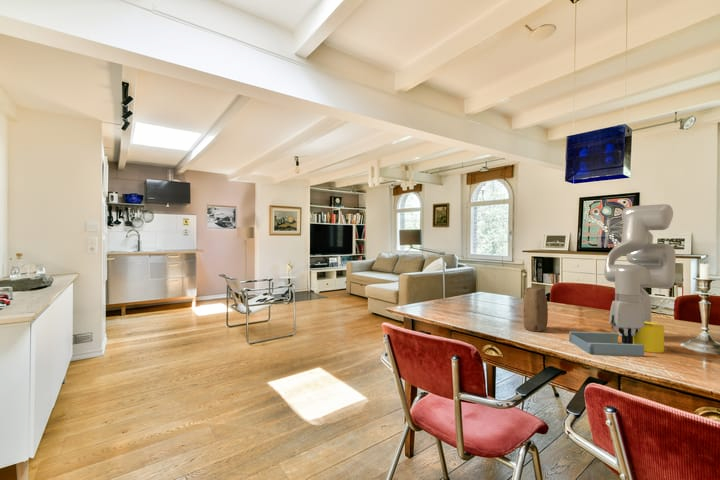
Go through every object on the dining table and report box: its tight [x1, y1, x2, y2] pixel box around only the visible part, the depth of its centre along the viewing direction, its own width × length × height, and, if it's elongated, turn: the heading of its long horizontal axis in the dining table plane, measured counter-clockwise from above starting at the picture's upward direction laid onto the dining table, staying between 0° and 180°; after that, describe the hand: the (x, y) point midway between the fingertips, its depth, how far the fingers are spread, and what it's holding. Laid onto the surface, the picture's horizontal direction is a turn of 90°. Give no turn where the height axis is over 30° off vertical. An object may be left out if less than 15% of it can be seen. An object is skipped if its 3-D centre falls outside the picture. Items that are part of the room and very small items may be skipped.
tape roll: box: [633, 321, 665, 354], centre depth 126 cm, size 10×10×9 cm
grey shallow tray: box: [568, 331, 645, 357], centre depth 126 cm, size 18×15×4 cm
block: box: [522, 286, 549, 333], centre depth 152 cm, size 11×8×20 cm
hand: (627, 345), depth 125 cm, fingers closed
